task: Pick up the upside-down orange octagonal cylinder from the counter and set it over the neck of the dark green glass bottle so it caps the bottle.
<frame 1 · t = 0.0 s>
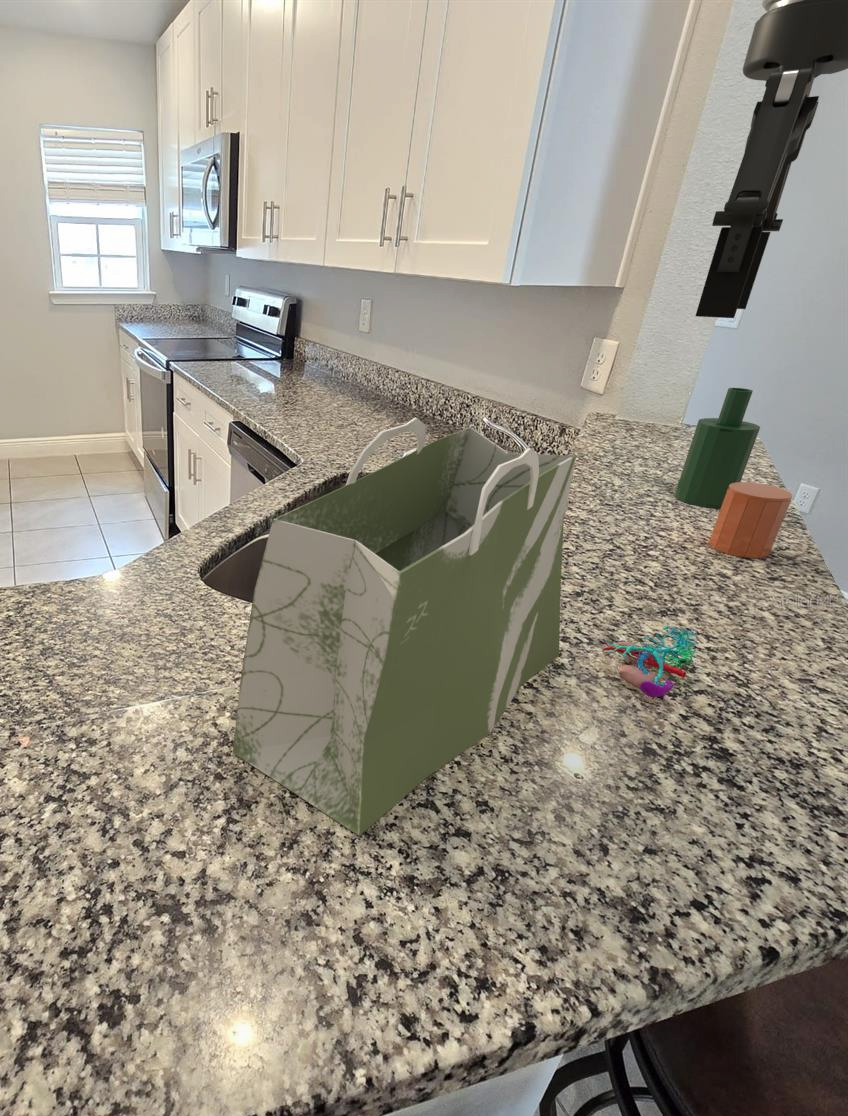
hand: (722, 312, 60), 30 cm above the countertop, tool pointing down, fingers open, 13 cm apart
orange octagonal cylinder: (738, 547, 88), on the countertop
bottle: (702, 499, 106), on the countertop
anatomy model: (638, 677, 61), on the countertop
grocery bag: (413, 700, 58), on the countertop
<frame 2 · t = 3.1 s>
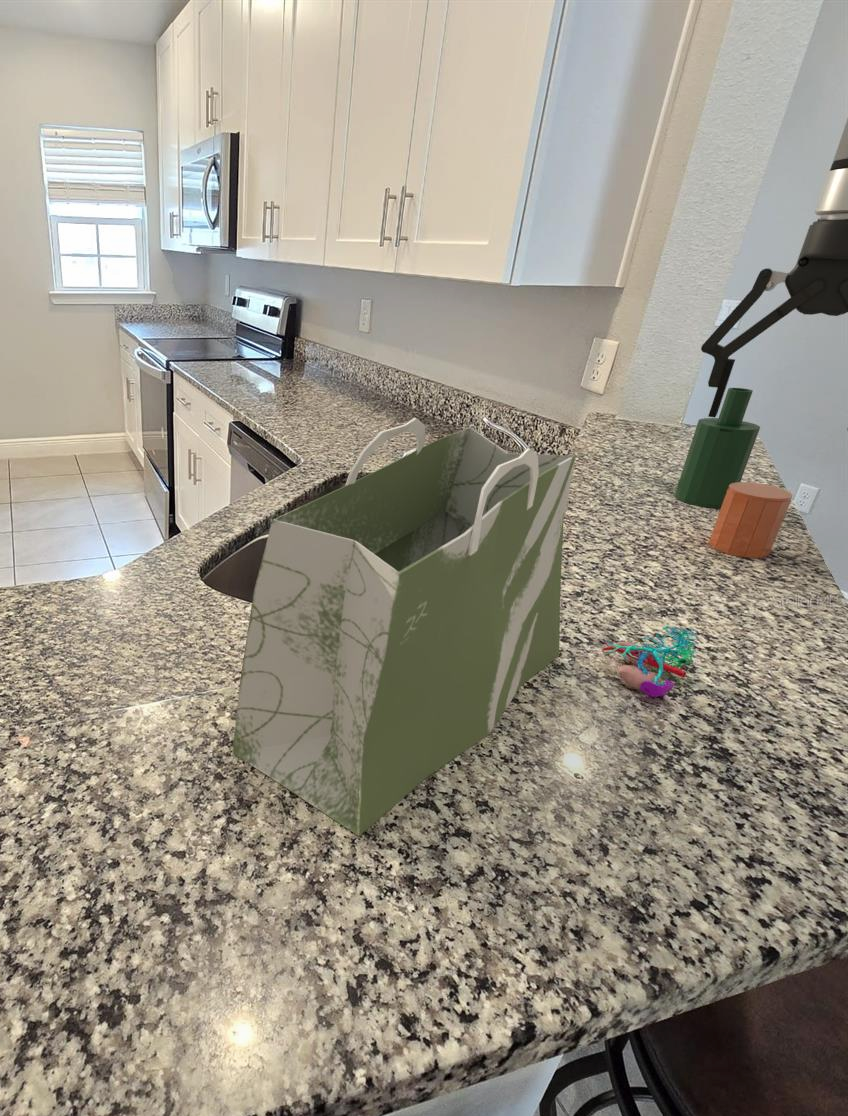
hand: (779, 423, 79), 17 cm above the countertop, tool pointing down, fingers open, 13 cm apart
nothing on the countertop moved.
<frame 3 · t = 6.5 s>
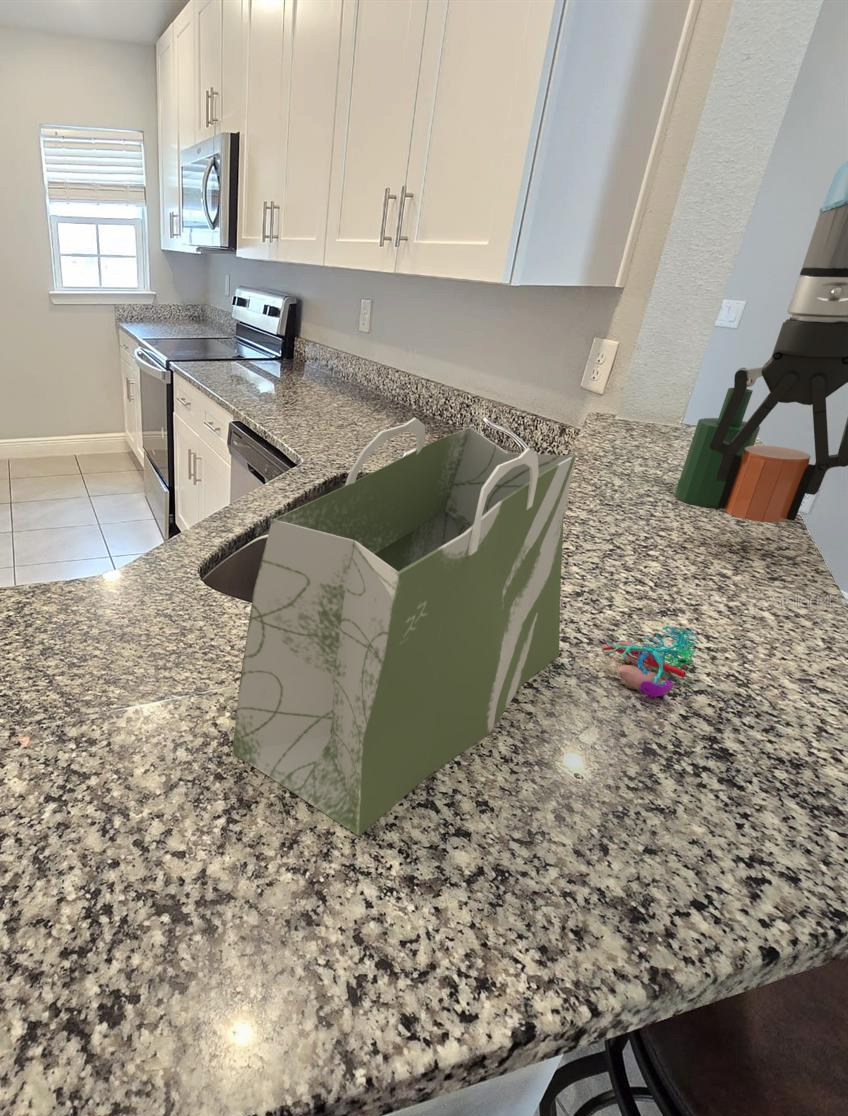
hand: (755, 511, 86), 5 cm above the countertop, tool pointing down, fingers closed on orange octagonal cylinder, 7 cm apart
orange octagonal cylinder: (754, 513, 86), point 5 cm above the countertop, touching gripper
everything else where it was.
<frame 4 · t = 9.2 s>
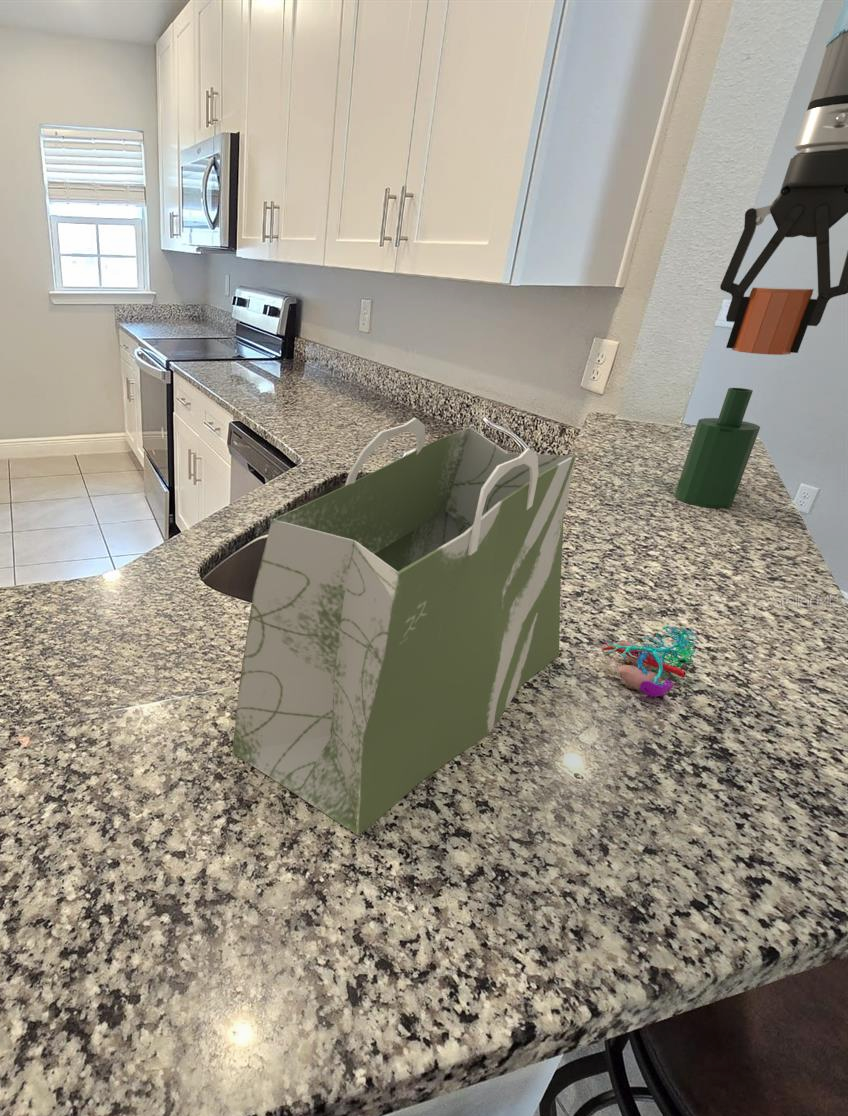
hand: (761, 349, 92), 23 cm above the countertop, tool pointing down, fingers closed on orange octagonal cylinder, 7 cm apart
orange octagonal cylinder: (760, 351, 93), point 23 cm above the countertop, touching gripper
everything else where it was.
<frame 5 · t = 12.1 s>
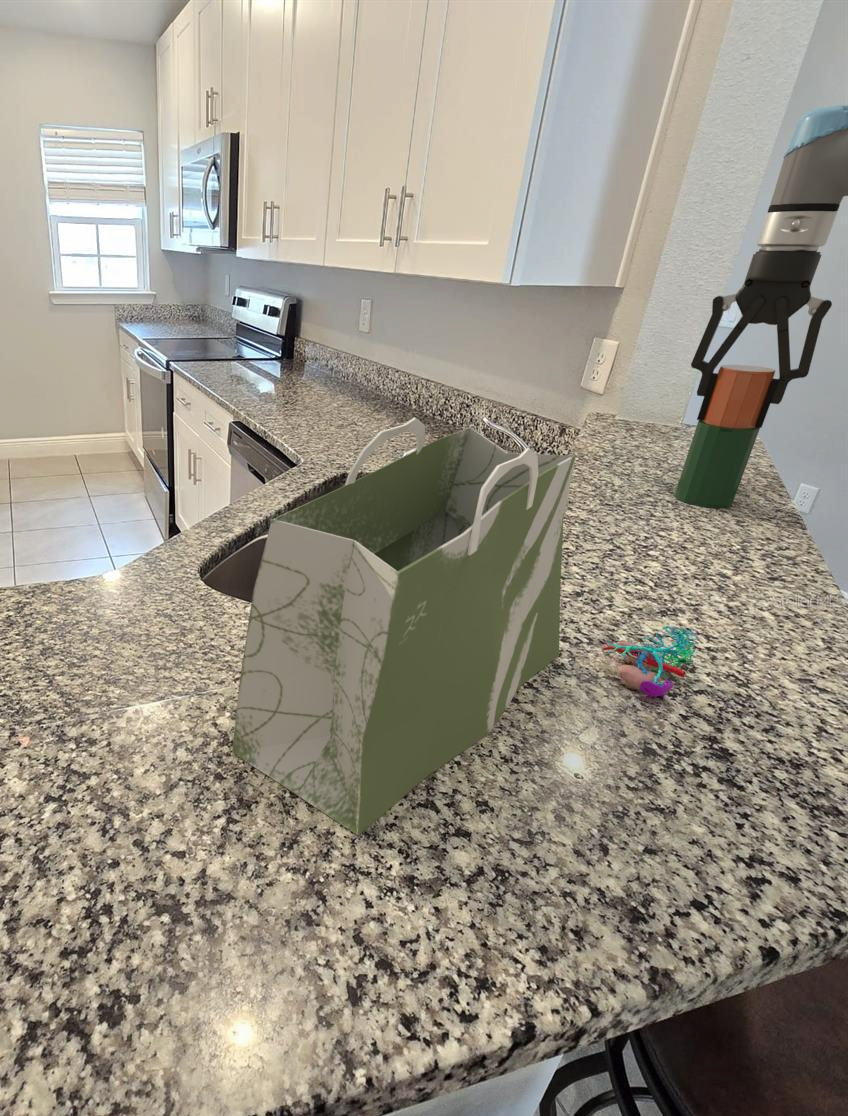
hand: (729, 421, 100), 12 cm above the countertop, tool pointing down, fingers closed on orange octagonal cylinder, 7 cm apart
orange octagonal cylinder: (728, 423, 100), point 12 cm above the countertop, touching gripper
everything else where it was.
when the fingers open (12 cm above the countertop, at t = 12.4 s): orange octagonal cylinder stays where it is, resting on bottle.
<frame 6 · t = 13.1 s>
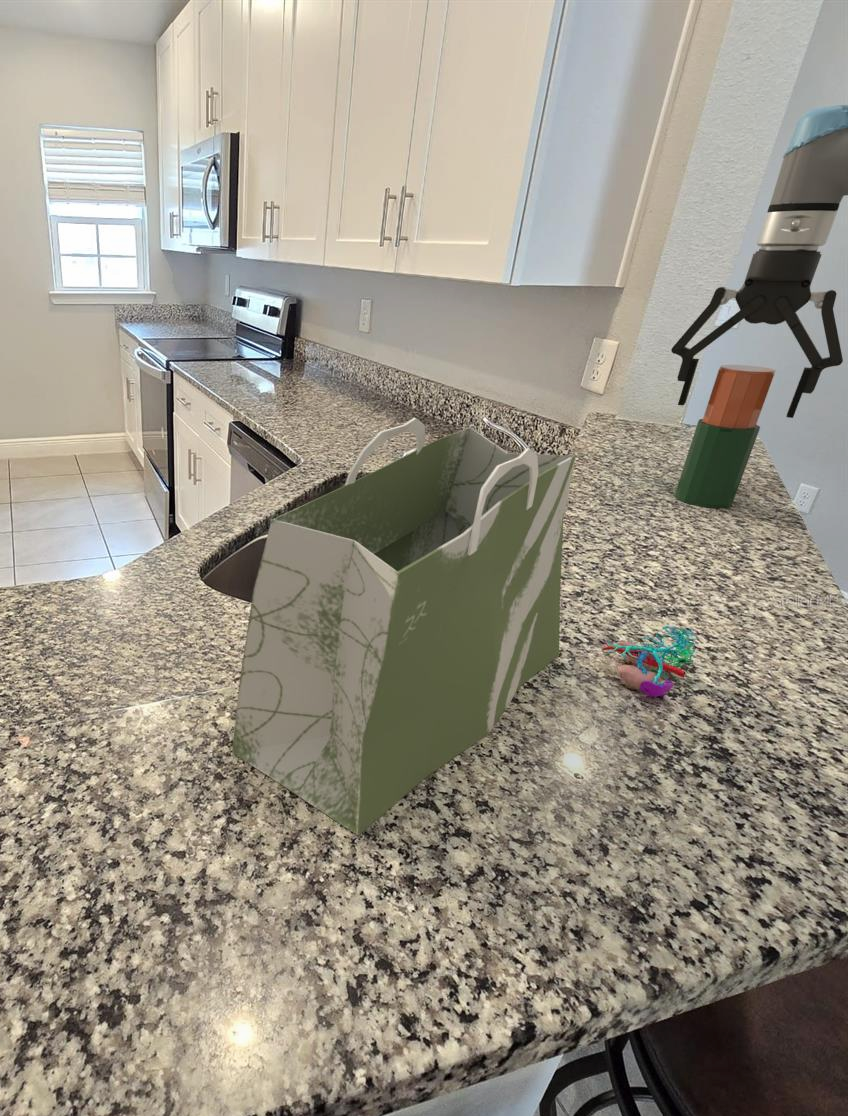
hand: (733, 410, 99), 14 cm above the countertop, tool pointing down, fingers open, 13 cm apart
orange octagonal cylinder: (728, 423, 100), point 12 cm above the countertop, touching bottle
everything else where it was.
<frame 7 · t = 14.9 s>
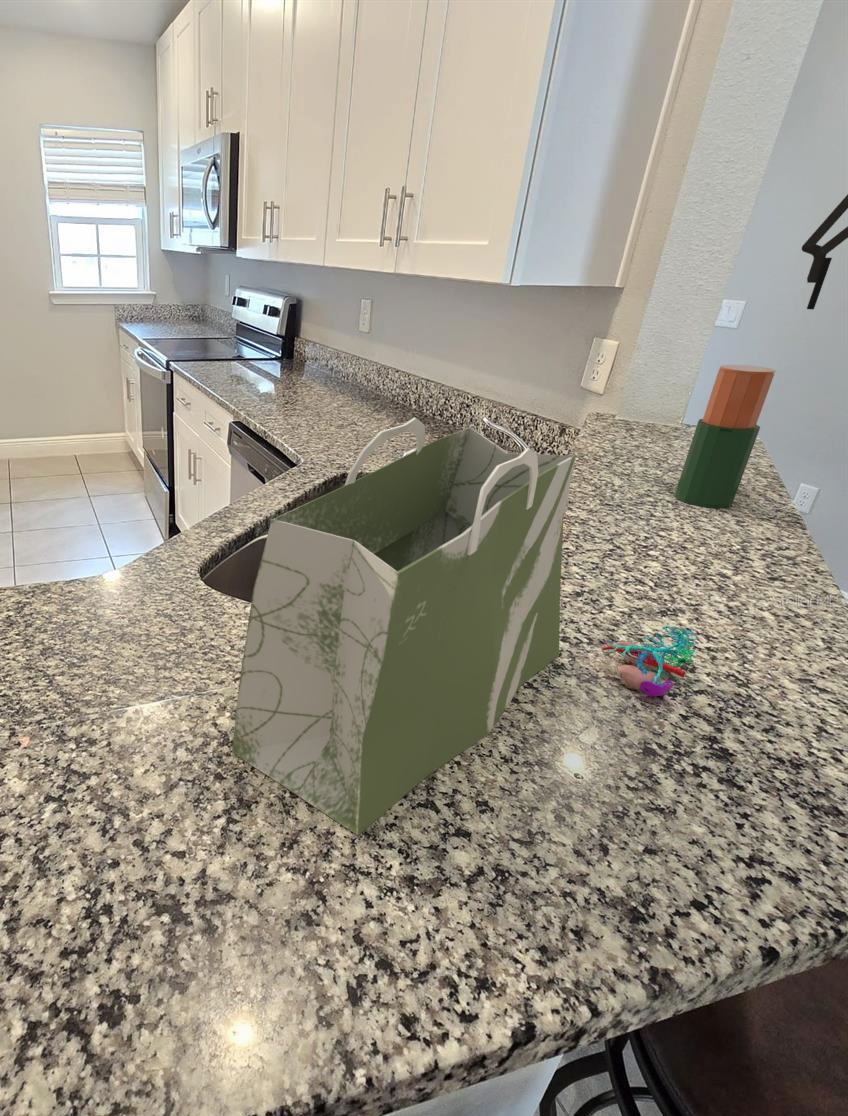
nothing on the countertop moved.
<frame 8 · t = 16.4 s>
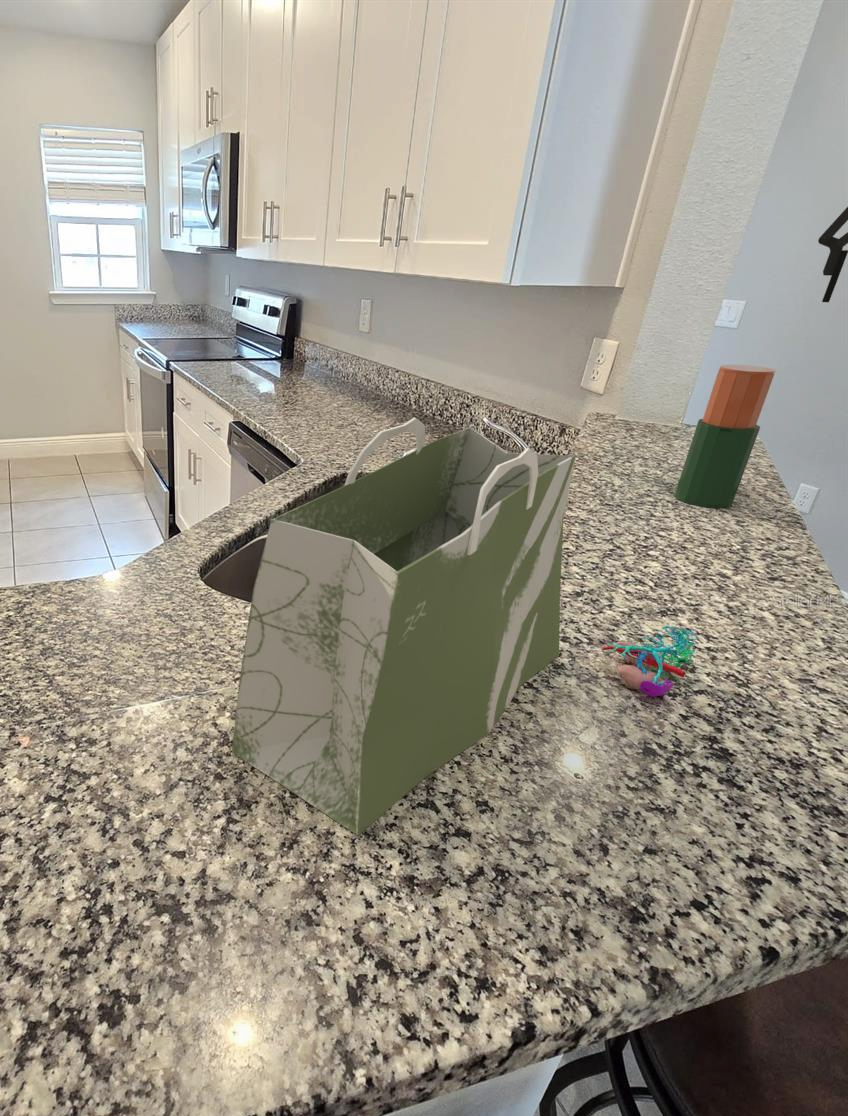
nothing on the countertop moved.
at the end: orange octagonal cylinder 0.0 cm off-centre in the bottle, point 12.0 cm above the bottle's base; orange octagonal cylinder tilted 0°; the gripper is holding nothing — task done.
